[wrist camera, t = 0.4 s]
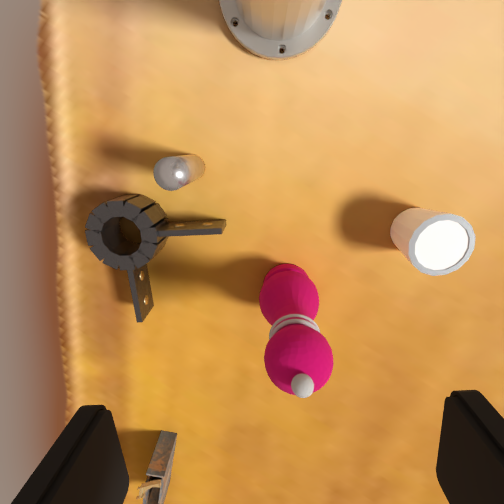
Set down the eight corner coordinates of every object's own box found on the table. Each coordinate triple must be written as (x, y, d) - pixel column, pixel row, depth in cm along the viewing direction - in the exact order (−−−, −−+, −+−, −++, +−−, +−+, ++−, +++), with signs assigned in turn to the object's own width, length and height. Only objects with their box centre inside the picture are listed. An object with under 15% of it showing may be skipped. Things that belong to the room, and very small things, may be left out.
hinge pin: (179, 155, 38) (151, 158, 29) (203, 153, 38) (184, 156, 29) (182, 180, 39) (156, 191, 30) (206, 179, 39) (187, 189, 30)
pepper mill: (249, 278, 43) (237, 382, 24) (294, 249, 42) (320, 336, 23) (278, 317, 45) (289, 443, 26) (323, 291, 43) (369, 405, 24)
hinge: (100, 195, 40) (78, 202, 35) (223, 190, 39) (217, 195, 35) (122, 306, 45) (106, 325, 40) (232, 303, 44) (228, 322, 40)
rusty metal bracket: (159, 427, 53) (137, 487, 43) (177, 430, 53) (159, 491, 43) (153, 476, 56) (131, 541, 47) (170, 479, 56) (151, 544, 47)
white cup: (391, 200, 39) (417, 211, 32) (447, 204, 39) (484, 216, 32) (379, 253, 41) (402, 273, 35) (433, 257, 41) (465, 278, 35)
